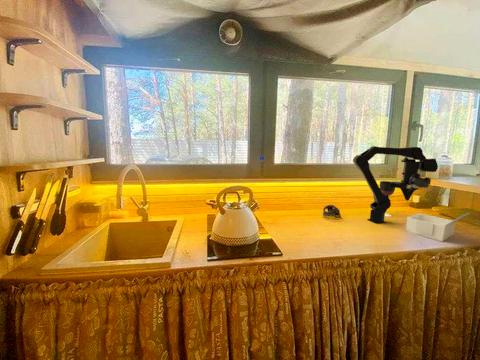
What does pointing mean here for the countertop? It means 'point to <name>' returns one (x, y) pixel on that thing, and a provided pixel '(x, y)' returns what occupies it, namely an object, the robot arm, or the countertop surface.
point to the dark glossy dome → (331, 211)
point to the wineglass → (386, 189)
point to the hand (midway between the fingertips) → (407, 200)
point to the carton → (430, 226)
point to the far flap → (457, 219)
